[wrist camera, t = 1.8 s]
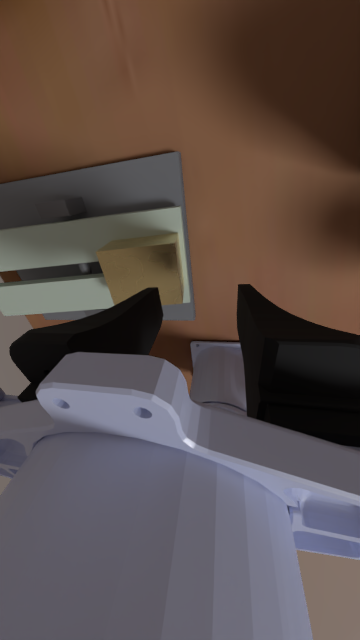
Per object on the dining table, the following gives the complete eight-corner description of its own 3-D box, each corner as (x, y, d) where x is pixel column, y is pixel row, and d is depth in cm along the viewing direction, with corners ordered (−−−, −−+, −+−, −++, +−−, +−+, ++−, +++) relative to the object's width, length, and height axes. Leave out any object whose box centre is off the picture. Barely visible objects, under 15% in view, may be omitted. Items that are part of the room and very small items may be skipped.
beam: (181, 204, 18) (180, 206, 16) (190, 292, 23) (190, 302, 21) (-31, 232, 21) (-53, 237, 19) (18, 306, 25) (4, 316, 24)
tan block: (178, 230, 18) (174, 242, 14) (184, 282, 21) (182, 303, 17) (115, 238, 19) (95, 251, 15) (129, 287, 21) (115, 308, 18)
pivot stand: (180, 152, 16) (170, 147, 13) (195, 315, 25) (191, 333, 22) (-23, 189, 21) (-63, 191, 18) (50, 315, 30) (31, 330, 27)
